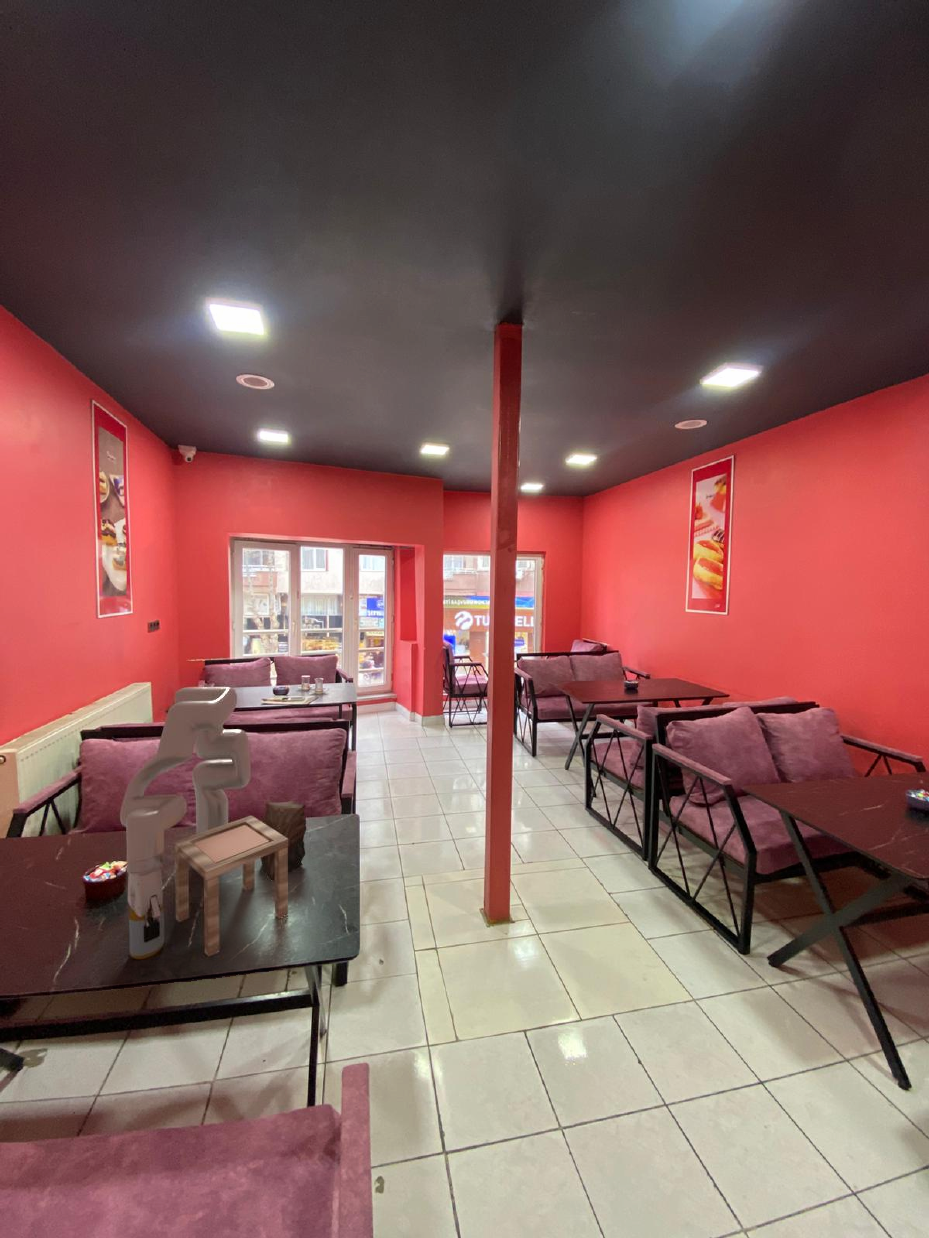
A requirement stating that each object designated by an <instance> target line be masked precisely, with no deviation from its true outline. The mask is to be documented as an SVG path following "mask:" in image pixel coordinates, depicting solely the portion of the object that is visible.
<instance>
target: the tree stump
mask: <svg viewBox="0 0 929 1238" xmlns="http://www.w3.org/2000/svg"><path fill="white" fill-rule="evenodd" d="M265 807H266V810H265V812H264V815H263V816H262V819H261V822H263V823H264V824H266V825H267V826H269V827H270V828H272V829H274V830H275V831H277V832H278V833H280V834H282V835H283V836H285V837H286V838H288V846H287V847H288V874H289V873H291V872H293V871H294V870H296V869H299V868H300V866H303V864H302V863H303V862H302V861H303V860H304V857H305V856H306V850H305V849H306V848H305V839H304V838H305V833H306V832H307V818H306V814H305V810H306V804H300V803H299V802H297V801H295V800H289V801H282V802H275V801H268V802H266V803H265ZM260 861H261V868H262V869H263V871H264V872H265V874H266V873H267V874H266V877H267V876H268V877H269V878H268V877H267V878H268V879H269V880H270V879H271V880H272V881H275V880H274V879H275V852H273V853H270V854H268V855H266V856H263V857H261V858H260ZM301 862H302V863H301ZM293 869H294V870H293ZM292 870H293V871H292ZM271 880H270V881H271ZM272 881H271V882H272Z"/></svg>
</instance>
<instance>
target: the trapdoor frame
mask: <svg viewBox="0 0 929 1238" xmlns="http://www.w3.org/2000/svg"><path fill="white" fill-rule="evenodd" d="M243 825H246V826H248V827H249V828H251V829H252V830H254V831H255V832H257V833H258V834H260V835H261V836H263V837H264V838H266V839H267V840H268V841H269V843H267V844H264V845H262V846H259V847H257V848H254V849H252V850H249V851H246V852H244V853H241V854H239V855H236V856H234V857H231V858H229V859H226V860H224V861H221V862H219V863H215V862H213V861H212V860H211V859H210V858H209V857H207V856H206V855H205V854H204V853H203V852H202V851H200V850H199V849H198V848H197V847H196V846H195V845H193V843H195V842H198V841H201V840H203V839H206V838H209V837H212V836H215V835H218V834H220V833H223V832H226V831H229V830H232V829H234V828H237V827H240V826H243ZM287 846H288V838H286V837H285V836H283V835H282V834H280V833H278V832H277V831H275V830H274V829H272V828H270V827H269V826H267V825H266V824H264V823H263V822H262V820H260V819H258V818H256V817H254V815H248V816H246V817H243V818H240V819H237V820H234V821H231V822H228V824H225V825H222V826H219V827H216V828H213V829H210V830H207V831H205V832H202V833H199V834H193V835H191V836H188V837H184V838H182V839H179V840H175V841H173V850H174V870H175V871H174V872H175V873H174V879H175V880H174V881H175V882H174V883H175V884H174V887H175V894H174V895H175V920H176V921H177V922H178V923H181V922H183V921H185V920H188V919H189V918H190V892H189V891H190V890H189V889H190V887H189V886H190V884H189V882H190V881H189V879H190V878H189V876H190V875H189V866H190V867H192V868H193V870H195V871H196V872H197V873H198V874H199V875H200V876H201V877H202V878H203V893H204V894H203V901H204V903H203V906H204V907H203V908H204V909H203V911H204V913H203V914H204V922H203V923H204V953H205V955H206V954H207V955H208V956H211V955H212V956H214V955H216V954H217V953H216V952H217V951H219V952H220V902H219V901H220V889H219V888H220V887H219V886H220V885H219V884H220V881H219V879H220V878H219V876H220V875H223V874H225V873H227V872H230V871H232V870H234V869H237V868H239V867H241V866H242V889H244V890H245V891H246V892H249V891H250V890H252V889H254V887H255V885H256V884H255V883H256V882H255V880H256V873H255V872H256V871H255V868H256V867H255V861H256V860H258V859H261V857H263V856H266V855H268V854H270V853H273V852H275V880H274V916H275V915H276V916H277V917H278V918H277V917H276V916H275V917H276V918H277V919H278V920H281V919H282V918H281V917H283V918H285V917H284V915H287V914H288V915H289V899H288V898H289V886H288V885H289V880H288V879H289V878H288V876H289V873H288V847H287ZM288 915H287V916H288ZM280 918H281V919H280ZM215 953H216V954H215ZM213 954H214V955H213ZM207 955H206V956H207ZM208 956H207V957H208ZM212 956H211V957H212Z"/></svg>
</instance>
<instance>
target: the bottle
mask: <svg viewBox="0 0 929 1238" xmlns="http://www.w3.org/2000/svg"><path fill="white" fill-rule="evenodd" d="M134 900H135V897H134V896H133V895H132V894H131V906H130V910H129V912H128V913H129V914H128V925H129V926H128V929H129V931H128V932H129V935H128V936H129V956H130V957H131V958H132V959H135V960H144V959H148V958H151V957H152V956H154V955H156V954H157V953H159V952H160V951H161V949H162V948H163V947H164V945H165V907H164V902H163V903H162V907H161V908H160V909H159V910H160V914H161V916H160V936H159V937H157V938H155V939H153V940H151V941H149V942H146V943H145V942H144V926H145V916H143V917H139V916H137V914H136V913H135V911H134V910H135V908H134V906H135V905H134V902H135V901H134ZM150 910H151V907H150V908H149V909H148V911H150ZM148 911H147V912H148ZM150 917H152V913H151V914H148V919H150Z"/></svg>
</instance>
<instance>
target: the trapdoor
mask: <svg viewBox="0 0 929 1238" xmlns="http://www.w3.org/2000/svg"><path fill="white" fill-rule="evenodd" d="M267 843H269V841H268V840H267V839H266V838H264V837H263V836H261V835H260V834H258V833H257V832H255V831H254V830H252V829H251V828H249V827H248V826H246V825H243V826H240V827H237V828H234V829H232V830H229V831H226V832H223V833H220V834H218V835H215V836H212V837H209V838H206V839H203V840H201V841H198V842H195V843H193V845H195V846H196V847H197V848H198V849H199V850H200V851H202V852H203V853H204V854H205V855H206V856H207V857H209V858H210V859H211V860H212V861H213V862H215V863H219V862H221V861H224V860H226V859H229V858H231V857H234V856H236V855H239V854H241V853H244V852H246V851H249V850H252V849H254V848H257V847H259V846H262V845H264V844H267Z"/></svg>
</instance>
